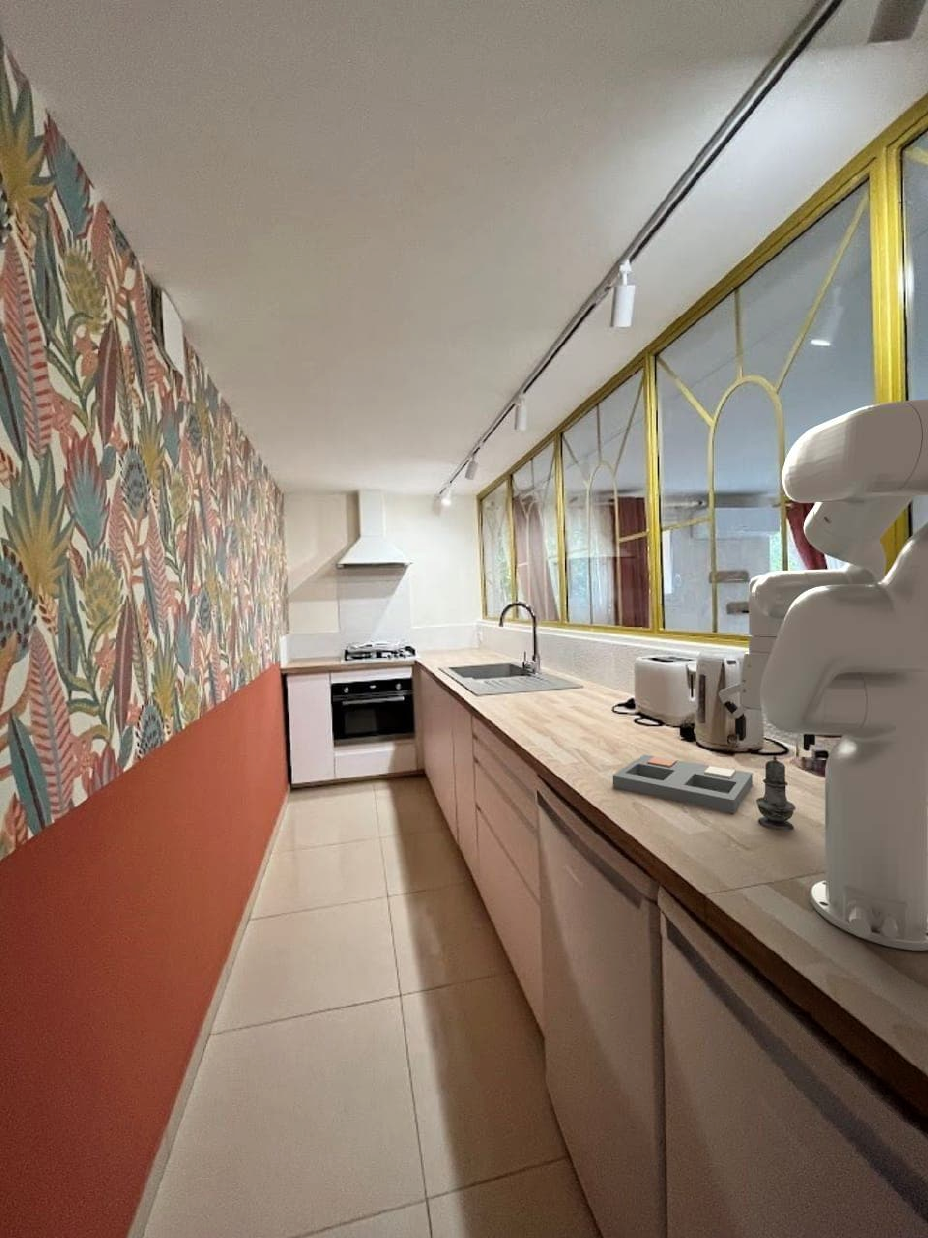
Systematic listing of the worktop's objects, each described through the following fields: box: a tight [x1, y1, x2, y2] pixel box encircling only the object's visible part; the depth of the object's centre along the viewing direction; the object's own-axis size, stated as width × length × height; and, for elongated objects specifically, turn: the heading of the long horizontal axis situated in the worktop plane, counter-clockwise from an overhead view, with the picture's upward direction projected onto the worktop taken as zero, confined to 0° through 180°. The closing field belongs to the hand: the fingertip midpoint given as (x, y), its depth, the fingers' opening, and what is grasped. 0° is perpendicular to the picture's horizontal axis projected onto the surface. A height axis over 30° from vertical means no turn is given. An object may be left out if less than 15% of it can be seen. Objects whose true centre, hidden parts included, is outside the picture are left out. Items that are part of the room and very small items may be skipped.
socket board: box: [612, 754, 754, 815], centre depth 105 cm, size 19×23×3 cm
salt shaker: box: [755, 755, 796, 832], centre depth 86 cm, size 6×6×12 cm
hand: (773, 743), depth 86 cm, fingers open, 9 cm apart
